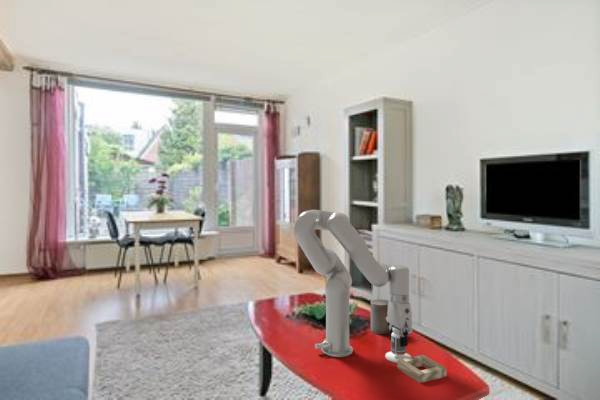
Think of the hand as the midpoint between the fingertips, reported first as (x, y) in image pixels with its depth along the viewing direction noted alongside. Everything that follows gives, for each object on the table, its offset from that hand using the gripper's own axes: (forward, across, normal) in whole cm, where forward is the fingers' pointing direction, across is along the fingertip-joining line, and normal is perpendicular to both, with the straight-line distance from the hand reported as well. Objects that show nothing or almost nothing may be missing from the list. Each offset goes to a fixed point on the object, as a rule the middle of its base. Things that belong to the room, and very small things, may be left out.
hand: (398, 342), depth 150 cm
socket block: (+6, -13, 0) cm, 14 cm away
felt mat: (+6, 0, 0) cm, 6 cm away
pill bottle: (+4, 0, 0) cm, 4 cm away
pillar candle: (+6, +27, -11) cm, 30 cm away
